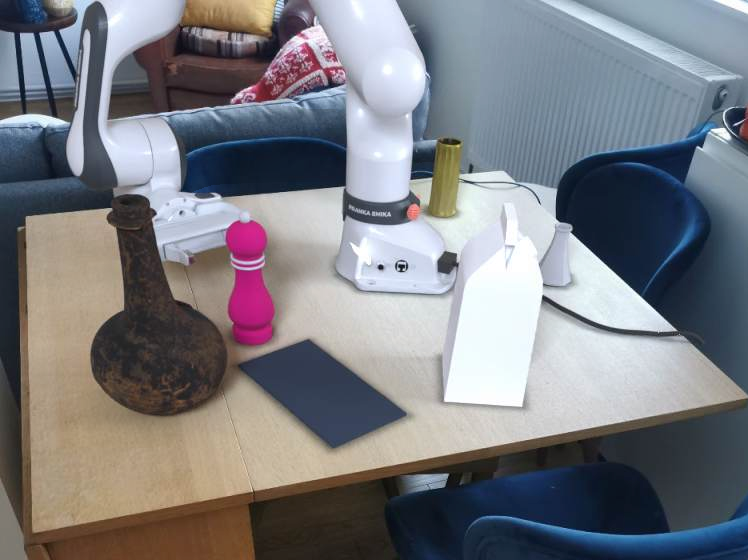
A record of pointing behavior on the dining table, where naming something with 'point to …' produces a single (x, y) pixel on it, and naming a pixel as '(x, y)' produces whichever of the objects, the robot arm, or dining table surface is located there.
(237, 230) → the pepper mill
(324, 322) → the dining table surface
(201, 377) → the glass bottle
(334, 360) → the mat
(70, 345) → the dining table surface
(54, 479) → the dining table surface
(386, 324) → the dining table surface
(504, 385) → the milk
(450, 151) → the vase
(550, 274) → the flask
